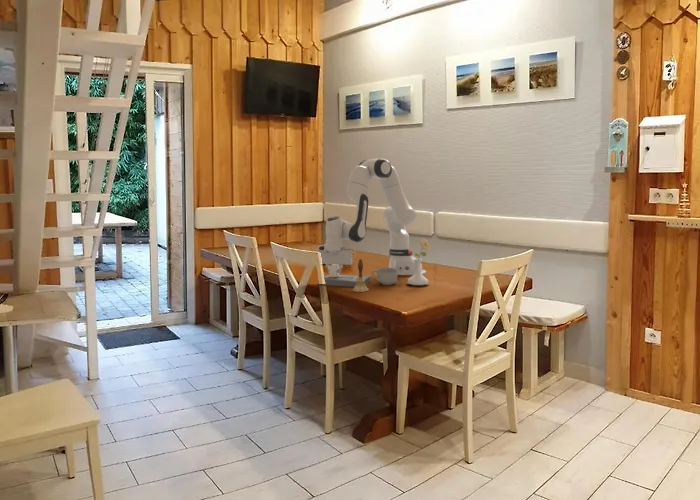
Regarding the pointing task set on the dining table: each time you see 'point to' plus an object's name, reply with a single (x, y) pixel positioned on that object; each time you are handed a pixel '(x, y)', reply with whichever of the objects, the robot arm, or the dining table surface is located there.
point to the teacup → (386, 275)
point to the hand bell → (360, 280)
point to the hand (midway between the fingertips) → (334, 272)
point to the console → (344, 280)
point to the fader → (333, 270)
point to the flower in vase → (418, 277)
